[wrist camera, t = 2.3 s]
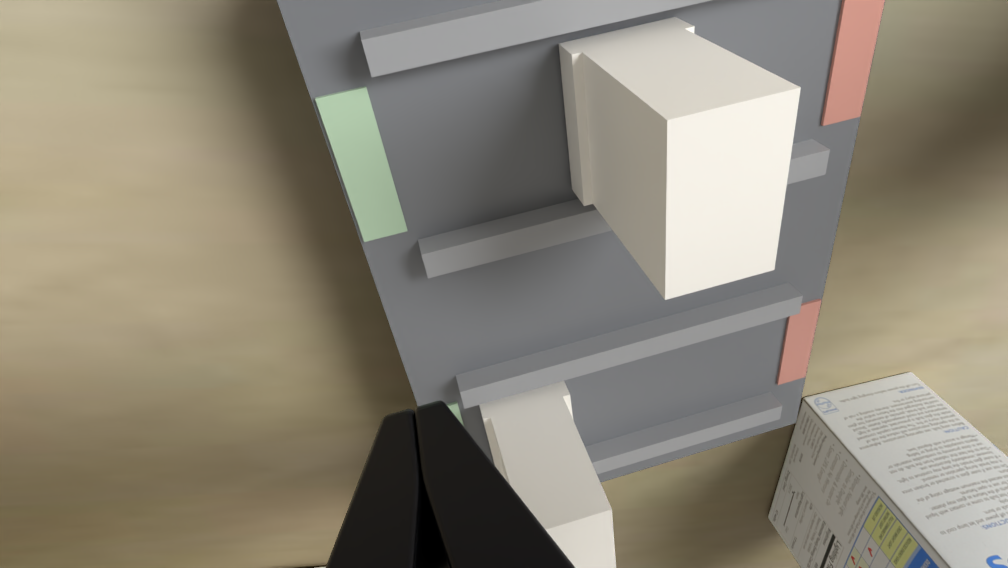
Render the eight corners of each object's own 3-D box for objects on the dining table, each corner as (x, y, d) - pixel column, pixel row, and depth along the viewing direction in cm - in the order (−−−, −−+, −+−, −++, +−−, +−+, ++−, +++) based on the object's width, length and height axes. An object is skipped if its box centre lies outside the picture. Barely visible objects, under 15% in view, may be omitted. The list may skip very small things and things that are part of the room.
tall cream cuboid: (560, 374, 21) (620, 506, 17) (570, 446, 24) (624, 578, 19) (477, 397, 21) (516, 539, 17) (495, 468, 23) (533, 607, 19)
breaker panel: (835, -176, 16) (951, -181, 13) (757, 375, 29) (807, 437, 26) (271, -62, 15) (257, -39, 12) (447, 466, 27) (462, 542, 24)
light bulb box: (862, 490, 38) (1017, 677, 29) (762, 518, 37) (893, 720, 29) (915, 365, 32) (1134, 557, 23) (797, 395, 31) (978, 606, 22)
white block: (674, 17, 15) (813, 84, 11) (672, 164, 18) (784, 266, 13) (558, 43, 15) (653, 123, 11) (572, 189, 17) (654, 303, 13)
